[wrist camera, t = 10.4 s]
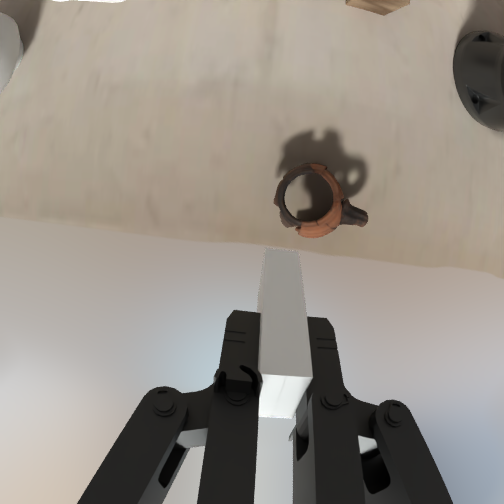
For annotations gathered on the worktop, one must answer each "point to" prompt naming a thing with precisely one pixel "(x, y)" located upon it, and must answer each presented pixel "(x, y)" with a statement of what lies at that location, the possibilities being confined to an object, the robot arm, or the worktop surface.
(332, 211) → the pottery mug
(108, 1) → the foam cup
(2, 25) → the vase
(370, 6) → the walnut block
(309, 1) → the worktop surface
